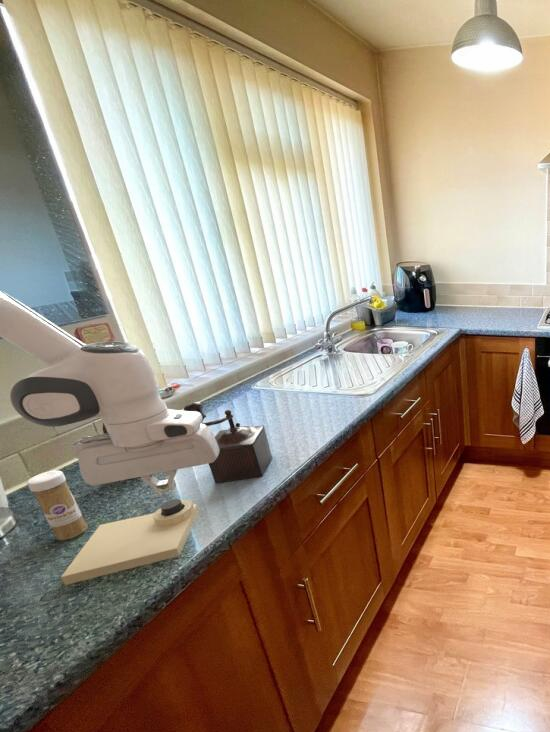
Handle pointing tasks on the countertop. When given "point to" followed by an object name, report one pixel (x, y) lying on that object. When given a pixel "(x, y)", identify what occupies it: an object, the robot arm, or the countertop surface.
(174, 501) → the button
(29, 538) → the countertop surface
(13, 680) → the countertop surface
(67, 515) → the sprinkles bottle
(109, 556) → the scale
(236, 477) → the manual coffee grinder
